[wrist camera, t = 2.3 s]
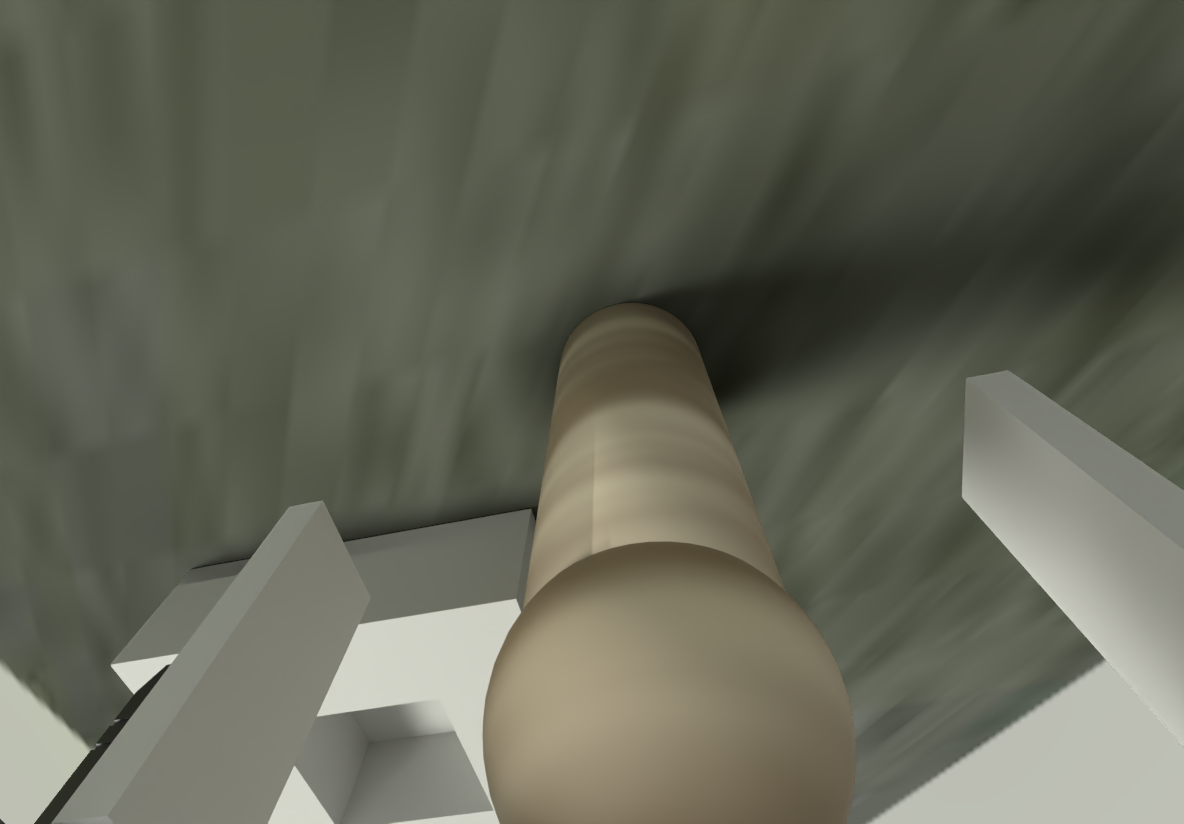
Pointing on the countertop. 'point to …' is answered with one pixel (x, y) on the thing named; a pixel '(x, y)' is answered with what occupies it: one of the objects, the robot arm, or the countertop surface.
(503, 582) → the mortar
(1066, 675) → the countertop surface
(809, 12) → the countertop surface
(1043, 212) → the countertop surface
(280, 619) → the robot arm
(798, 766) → the pestle
